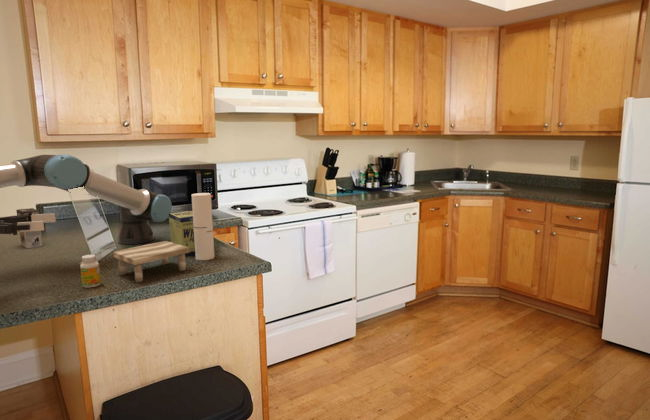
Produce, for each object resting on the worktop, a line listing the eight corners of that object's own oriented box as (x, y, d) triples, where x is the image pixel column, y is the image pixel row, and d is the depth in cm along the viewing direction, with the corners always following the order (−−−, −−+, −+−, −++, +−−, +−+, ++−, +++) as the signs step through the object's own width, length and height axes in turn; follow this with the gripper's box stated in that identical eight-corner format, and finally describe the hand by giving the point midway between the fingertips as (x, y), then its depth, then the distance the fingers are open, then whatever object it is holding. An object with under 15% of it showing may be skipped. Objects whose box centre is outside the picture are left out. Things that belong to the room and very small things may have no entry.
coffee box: (20, 245, 200) (15, 209, 198) (37, 242, 205) (32, 207, 202) (26, 248, 194) (21, 211, 192) (43, 245, 199) (38, 209, 196)
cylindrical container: (194, 256, 178) (190, 193, 174) (212, 254, 181) (209, 192, 177) (197, 261, 172) (192, 196, 168) (216, 258, 175) (212, 194, 170)
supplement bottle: (79, 288, 144) (76, 259, 142) (85, 283, 149) (82, 254, 147) (98, 287, 144) (94, 257, 143) (103, 281, 150) (100, 253, 148)
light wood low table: (114, 273, 158) (112, 251, 156) (167, 261, 172) (166, 240, 171) (136, 283, 147) (134, 259, 146) (190, 269, 162) (189, 247, 161)
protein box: (183, 256, 178) (180, 218, 176) (170, 248, 191) (167, 212, 188) (208, 252, 184) (206, 214, 182) (194, 245, 197) (192, 209, 194)
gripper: (-14, 230, 146) (60, 225, 152) (-51, 249, 122) (39, 242, 129) (-18, 207, 144) (57, 203, 151) (-55, 222, 121) (36, 216, 127)
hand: (49, 221), depth 140 cm, fingers open, 13 cm apart
